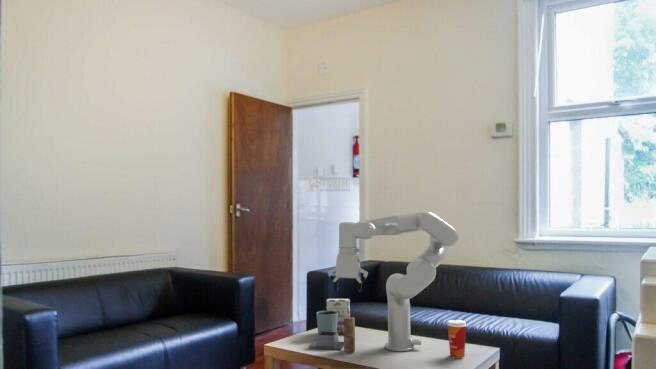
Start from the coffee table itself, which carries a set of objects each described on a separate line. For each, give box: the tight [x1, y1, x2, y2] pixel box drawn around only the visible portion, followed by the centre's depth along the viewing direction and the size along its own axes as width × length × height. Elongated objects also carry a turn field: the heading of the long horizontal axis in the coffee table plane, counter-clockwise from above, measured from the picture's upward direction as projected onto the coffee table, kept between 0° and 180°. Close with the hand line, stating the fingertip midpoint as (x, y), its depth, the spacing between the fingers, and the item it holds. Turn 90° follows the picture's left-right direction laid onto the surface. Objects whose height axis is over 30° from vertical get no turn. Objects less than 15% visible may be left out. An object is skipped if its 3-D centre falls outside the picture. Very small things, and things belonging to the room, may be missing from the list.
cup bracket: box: [308, 331, 344, 351], centre depth 218 cm, size 14×10×6 cm
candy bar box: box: [325, 298, 351, 336], centre depth 241 cm, size 11×5×16 cm, turn 80°
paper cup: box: [446, 319, 467, 359], centre depth 202 cm, size 8×8×14 cm
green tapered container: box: [316, 310, 338, 334], centre depth 231 cm, size 10×10×12 cm
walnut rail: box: [343, 316, 356, 354], centre depth 210 cm, size 4×4×14 cm
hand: (347, 291), depth 211 cm, fingers open, 9 cm apart
